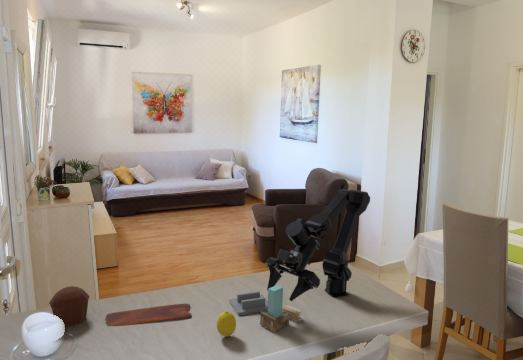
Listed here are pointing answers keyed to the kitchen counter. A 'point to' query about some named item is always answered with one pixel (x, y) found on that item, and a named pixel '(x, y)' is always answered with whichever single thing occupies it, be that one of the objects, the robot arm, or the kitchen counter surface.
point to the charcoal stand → (249, 303)
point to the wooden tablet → (149, 315)
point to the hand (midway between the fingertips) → (278, 295)
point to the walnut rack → (273, 321)
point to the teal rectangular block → (275, 301)
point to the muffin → (70, 305)
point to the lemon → (226, 324)
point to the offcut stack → (292, 313)
